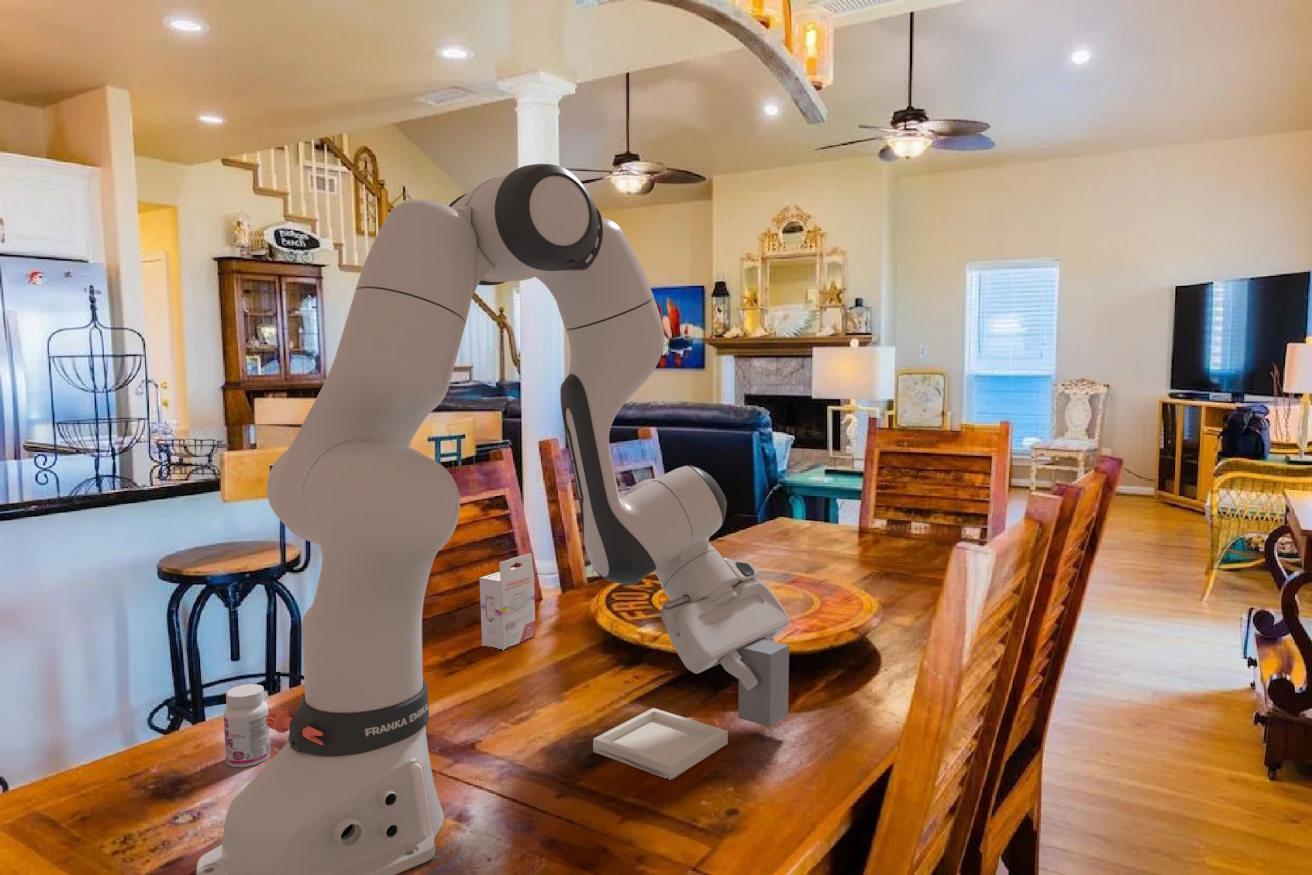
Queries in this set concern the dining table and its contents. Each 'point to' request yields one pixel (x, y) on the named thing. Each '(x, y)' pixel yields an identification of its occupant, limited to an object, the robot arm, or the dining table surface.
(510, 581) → the ink cartridge box
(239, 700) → the pill bottle
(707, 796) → the dining table surface
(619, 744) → the tray
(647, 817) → the dining table surface
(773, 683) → the grey block
